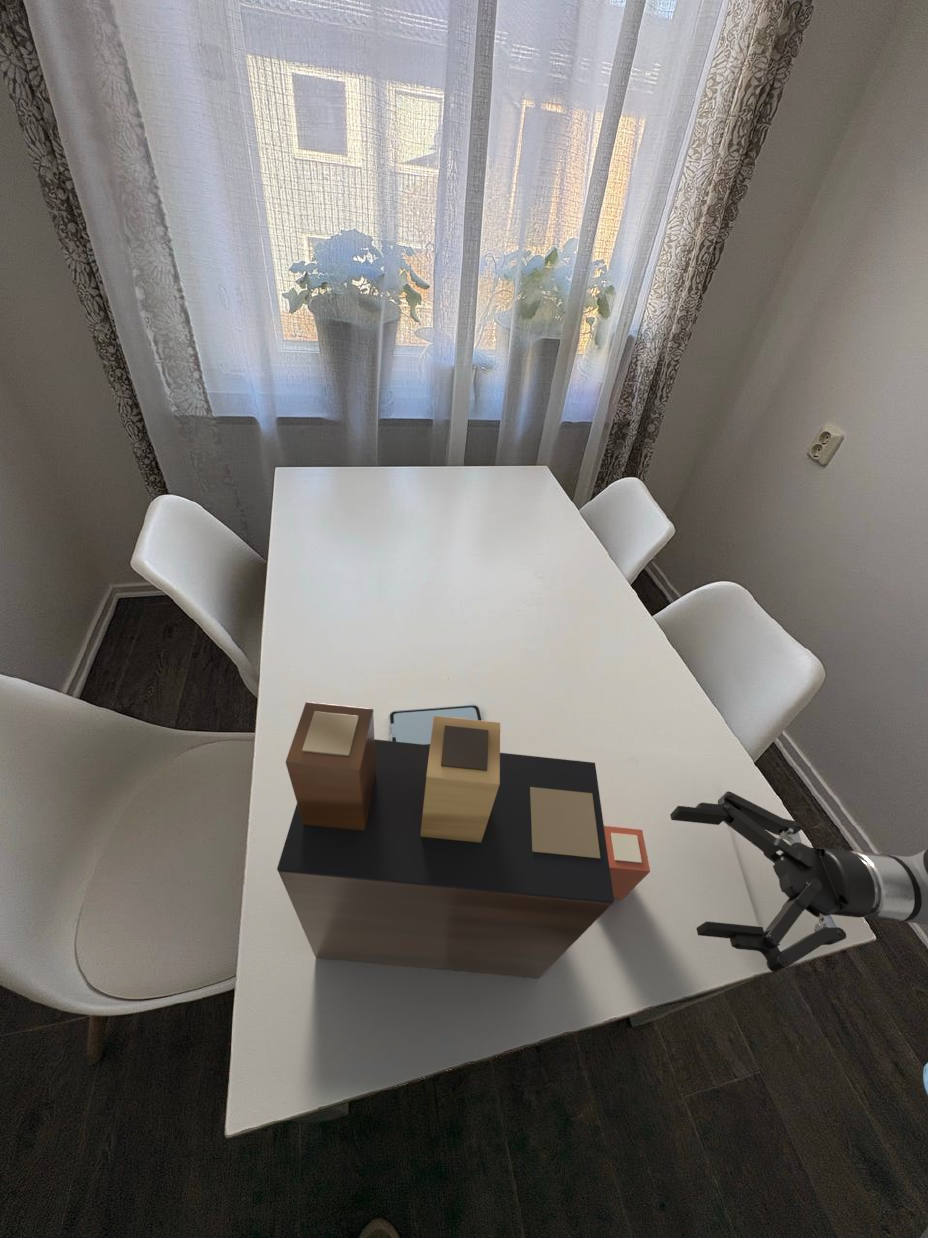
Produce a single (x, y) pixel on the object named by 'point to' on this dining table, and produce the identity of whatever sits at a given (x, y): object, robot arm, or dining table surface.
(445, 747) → the wooden pillar block
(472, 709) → the smartphone
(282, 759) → the dining table surface
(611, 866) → the orange block
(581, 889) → the black mat
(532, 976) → the stand
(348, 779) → the wooden block
